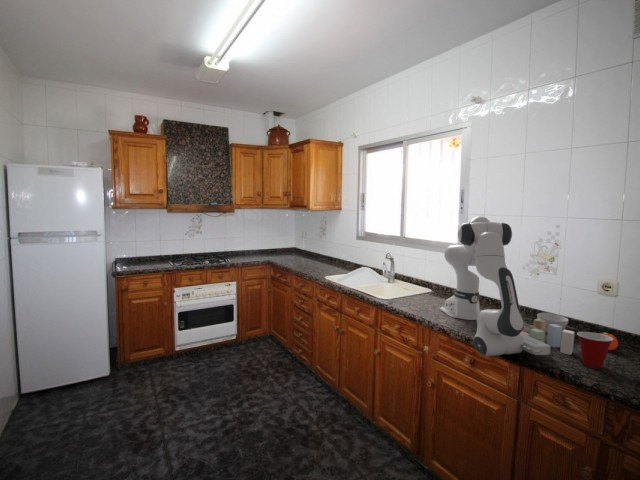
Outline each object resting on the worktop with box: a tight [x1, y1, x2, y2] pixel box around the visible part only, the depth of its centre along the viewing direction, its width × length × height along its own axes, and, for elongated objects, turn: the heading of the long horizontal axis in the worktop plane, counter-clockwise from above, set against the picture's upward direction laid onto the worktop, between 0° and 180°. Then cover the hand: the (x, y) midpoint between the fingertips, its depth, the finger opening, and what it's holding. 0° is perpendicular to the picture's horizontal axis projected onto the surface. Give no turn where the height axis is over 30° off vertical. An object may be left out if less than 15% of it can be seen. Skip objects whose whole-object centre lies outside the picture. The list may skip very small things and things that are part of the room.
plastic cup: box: [576, 331, 613, 370], centre depth 131 cm, size 11×11×12 cm
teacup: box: [537, 312, 569, 334], centre depth 166 cm, size 15×12×8 cm
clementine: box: [598, 332, 619, 351], centre depth 147 cm, size 8×7×7 cm
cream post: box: [559, 328, 575, 356], centre depth 142 cm, size 4×4×9 cm
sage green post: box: [529, 328, 545, 340], centre depth 142 cm, size 4×4×9 cm
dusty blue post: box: [546, 324, 562, 348], centre depth 149 cm, size 4×4×9 cm
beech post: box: [532, 318, 546, 338], centre depth 156 cm, size 4×4×9 cm
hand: (537, 339), depth 143 cm, fingers closed on sage green post, 3 cm apart
